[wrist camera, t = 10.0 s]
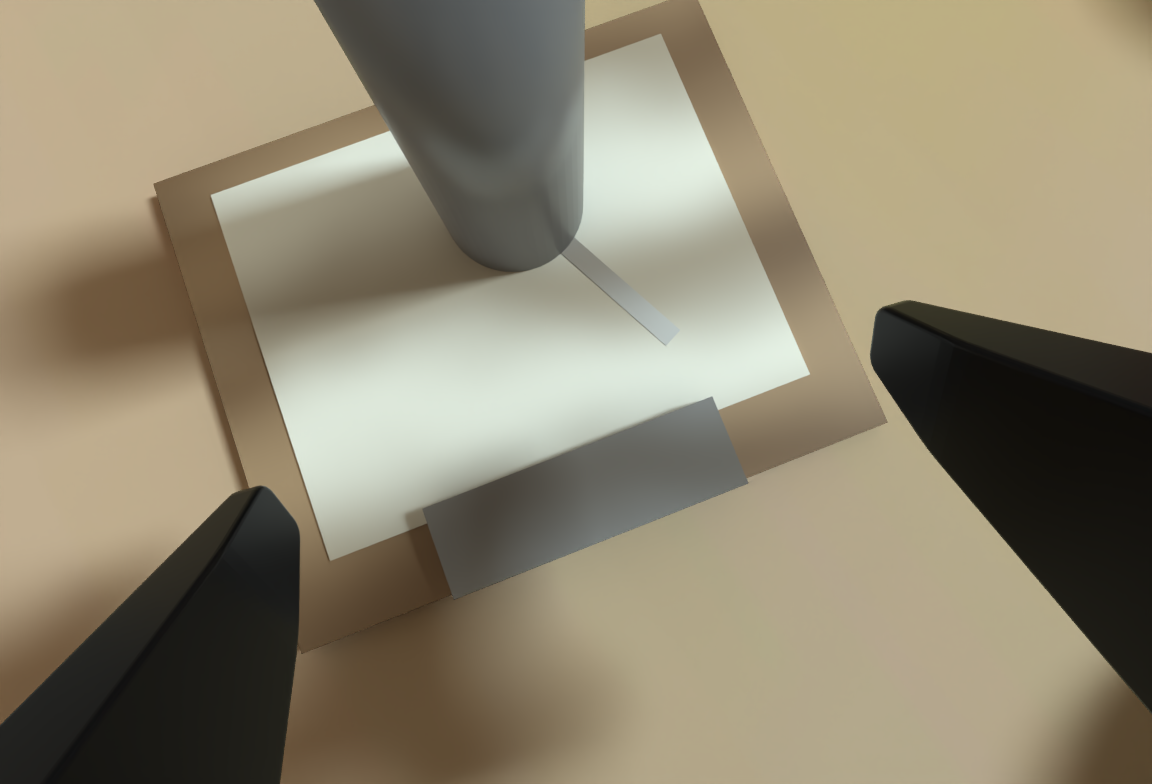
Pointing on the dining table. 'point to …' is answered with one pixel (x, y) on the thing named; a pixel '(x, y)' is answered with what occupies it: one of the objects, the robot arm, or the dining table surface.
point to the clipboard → (512, 337)
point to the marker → (481, 113)
